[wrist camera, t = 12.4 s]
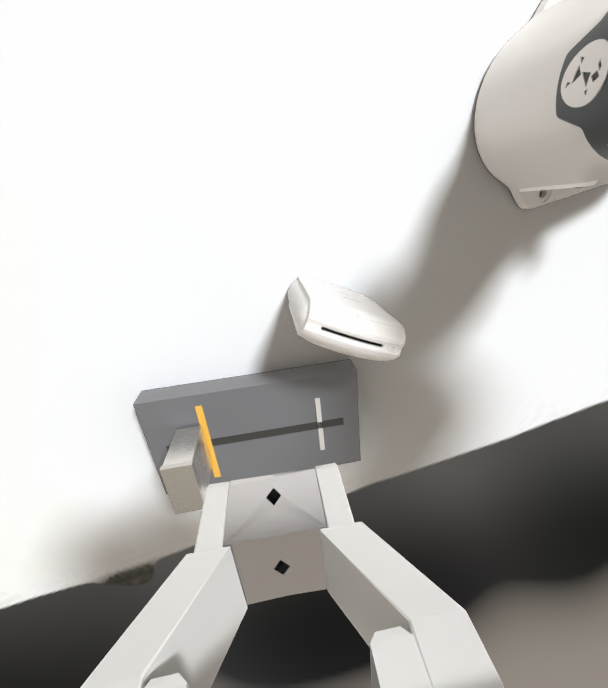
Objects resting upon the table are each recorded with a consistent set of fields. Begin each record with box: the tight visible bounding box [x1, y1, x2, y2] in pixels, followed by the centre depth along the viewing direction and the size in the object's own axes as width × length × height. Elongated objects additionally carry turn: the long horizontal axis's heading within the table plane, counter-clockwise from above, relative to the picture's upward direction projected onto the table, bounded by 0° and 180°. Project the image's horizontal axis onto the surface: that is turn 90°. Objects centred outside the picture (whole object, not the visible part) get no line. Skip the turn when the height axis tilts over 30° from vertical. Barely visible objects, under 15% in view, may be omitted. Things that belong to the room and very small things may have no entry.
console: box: [133, 359, 361, 494], centre depth 43 cm, size 26×14×3 cm, turn 96°
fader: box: [159, 425, 212, 514], centre depth 37 cm, size 3×6×7 cm, turn 6°
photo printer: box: [288, 276, 406, 361], centre depth 33 cm, size 10×4×12 cm, turn 71°
